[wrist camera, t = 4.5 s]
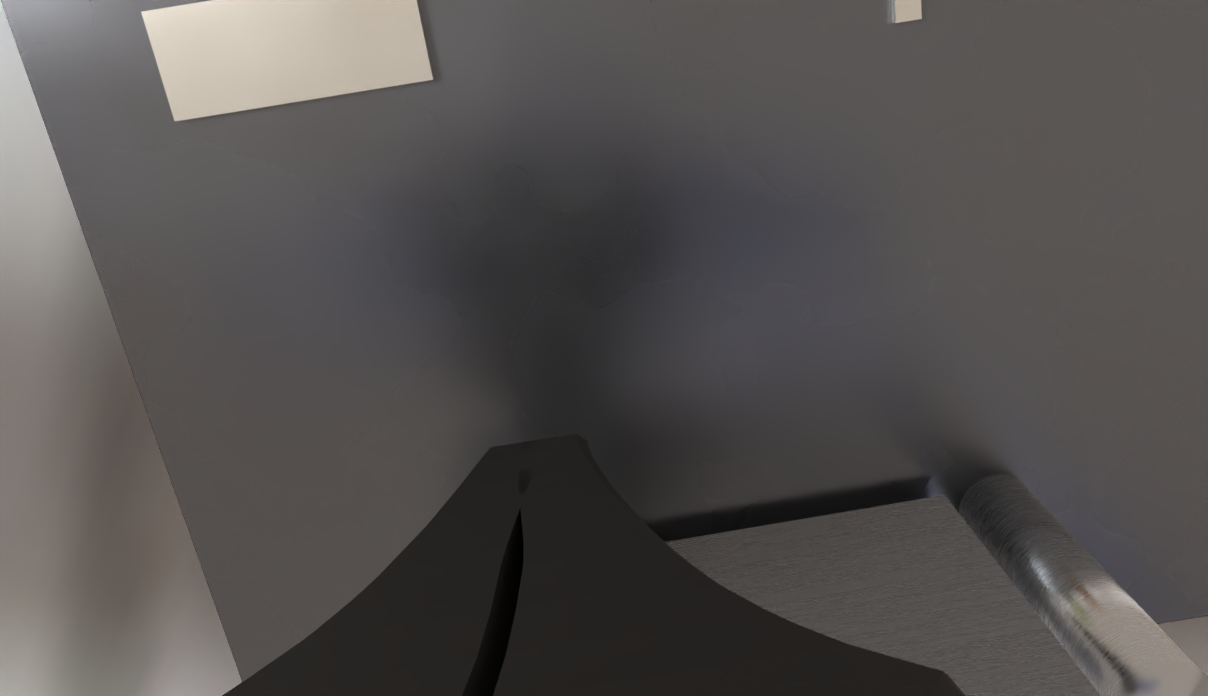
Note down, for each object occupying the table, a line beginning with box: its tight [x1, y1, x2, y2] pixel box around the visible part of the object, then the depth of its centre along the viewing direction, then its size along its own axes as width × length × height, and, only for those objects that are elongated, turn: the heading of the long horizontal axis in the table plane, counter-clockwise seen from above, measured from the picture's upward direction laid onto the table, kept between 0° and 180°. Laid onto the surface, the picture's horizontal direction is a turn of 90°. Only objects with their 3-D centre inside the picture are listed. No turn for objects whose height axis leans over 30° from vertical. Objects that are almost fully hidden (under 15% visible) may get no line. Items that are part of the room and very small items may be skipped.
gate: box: [665, 495, 1101, 696], centre depth 11 cm, size 7×1×4 cm, turn 99°
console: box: [1, 0, 1208, 696], centre depth 10 cm, size 16×16×5 cm
